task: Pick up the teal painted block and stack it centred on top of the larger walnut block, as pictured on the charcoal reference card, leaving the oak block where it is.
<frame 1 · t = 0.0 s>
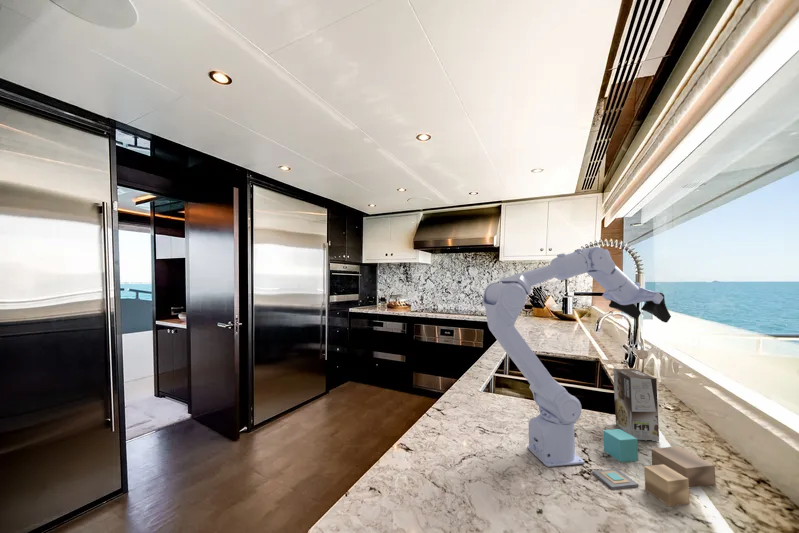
hand: (652, 317, 75), 32 cm above the worktop, tool tilted 50°, fingers open, 7 cm apart
reference card: (614, 479, 61), on the worktop
teal block: (620, 455, 70), on the worktop
coffee box: (636, 433, 81), on the worktop
oak block: (666, 496, 56), on the worktop
walnut block: (682, 475, 63), on the worktop
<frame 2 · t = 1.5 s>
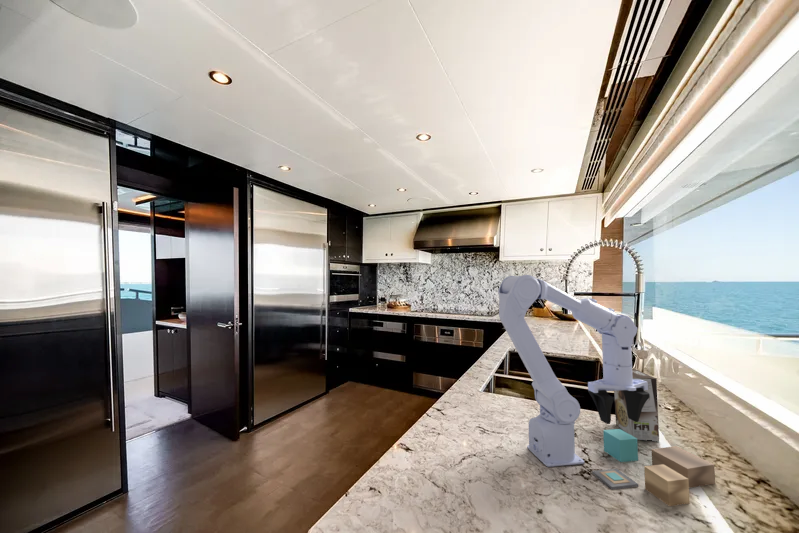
hand: (619, 421, 70), 8 cm above the worktop, tool pointing down, fingers open, 7 cm apart
nothing on the worktop moved.
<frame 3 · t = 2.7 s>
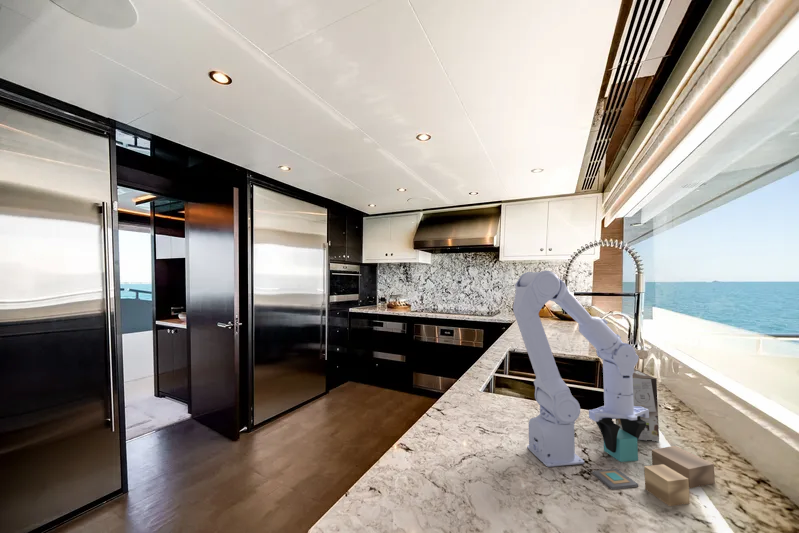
hand: (620, 449, 70), 1 cm above the worktop, tool pointing down, fingers closed on teal block, 5 cm apart
teal block: (620, 455, 70), on the worktop, touching gripper
everything else where it was.
when the fingers open (6 cm above the worktop, at t = 5.5 s): teal block drops 1 cm, point 4 cm above the worktop.
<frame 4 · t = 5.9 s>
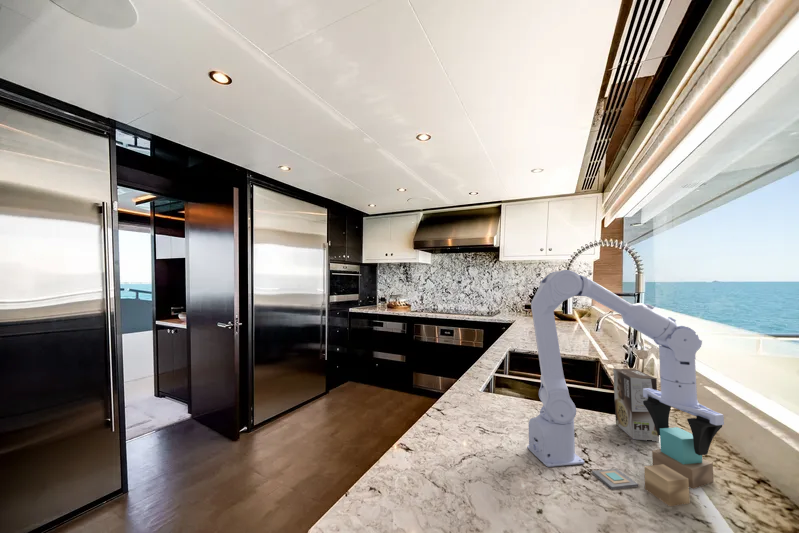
hand: (680, 443, 63), 6 cm above the worktop, tool pointing down, fingers open, 7 cm apart
teal block: (680, 456, 63), point 4 cm above the worktop
everything else where it was.
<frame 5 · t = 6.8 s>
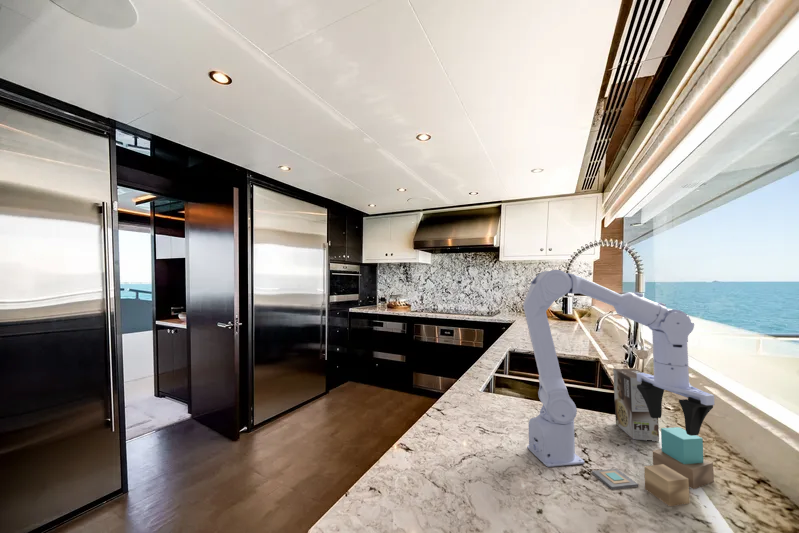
hand: (673, 425, 64), 10 cm above the worktop, tool pointing down, fingers open, 7 cm apart
teal block: (681, 456, 63), point 4 cm above the worktop, touching walnut block
walnut block: (682, 475, 63), on the worktop, touching teal block
everything else where it was.
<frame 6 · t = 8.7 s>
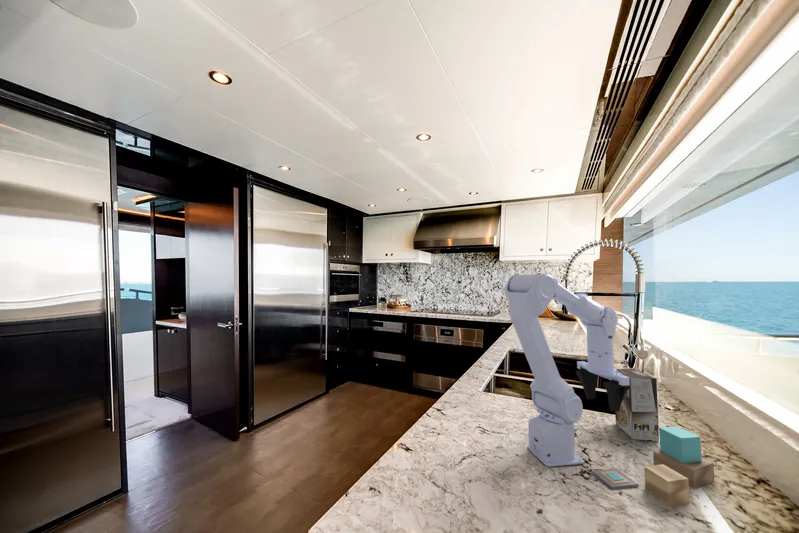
hand: (602, 404, 76), 9 cm above the worktop, tool pointing down, fingers open, 7 cm apart
nothing on the worktop moved.
at the end: teal block 0.3 cm off-centre on the walnut block, point 4.0 cm above the walnut block's base; teal block tilted 0°; teal block touching walnut block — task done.
